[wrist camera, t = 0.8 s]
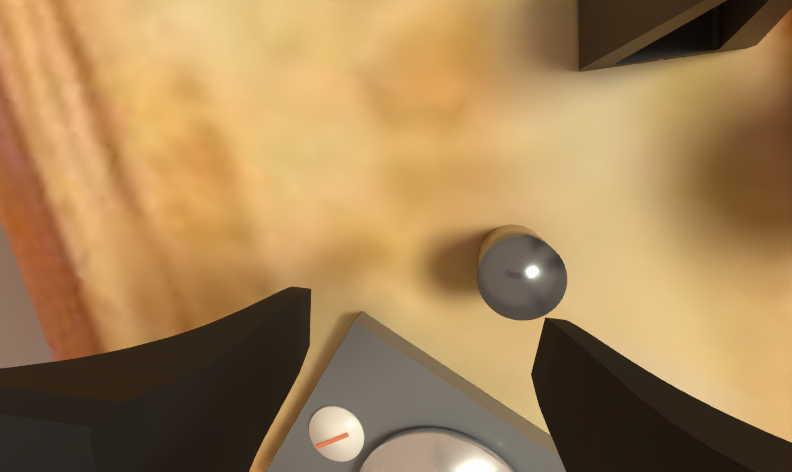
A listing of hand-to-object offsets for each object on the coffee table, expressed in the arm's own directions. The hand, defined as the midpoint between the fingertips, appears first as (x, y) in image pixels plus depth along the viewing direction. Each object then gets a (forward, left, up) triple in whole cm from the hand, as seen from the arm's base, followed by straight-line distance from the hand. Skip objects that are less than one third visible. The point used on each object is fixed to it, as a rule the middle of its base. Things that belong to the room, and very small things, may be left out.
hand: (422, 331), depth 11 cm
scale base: (-7, +17, -15) cm, 23 cm away
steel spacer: (-4, -1, -15) cm, 16 cm away
